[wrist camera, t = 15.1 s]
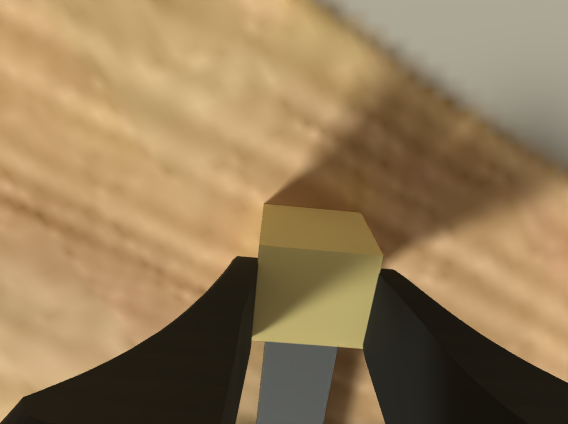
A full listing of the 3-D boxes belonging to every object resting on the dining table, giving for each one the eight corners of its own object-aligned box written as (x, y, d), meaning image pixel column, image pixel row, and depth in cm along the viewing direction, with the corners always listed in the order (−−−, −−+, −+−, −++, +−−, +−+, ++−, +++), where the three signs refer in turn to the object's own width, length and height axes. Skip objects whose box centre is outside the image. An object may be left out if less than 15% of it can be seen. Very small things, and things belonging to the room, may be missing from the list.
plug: (314, 454, 17) (321, 532, 14) (241, 449, 17) (234, 528, 14) (360, 212, 13) (383, 256, 10) (263, 203, 12) (259, 244, 10)
